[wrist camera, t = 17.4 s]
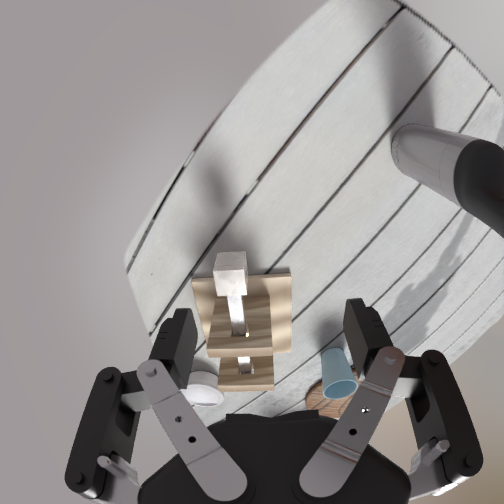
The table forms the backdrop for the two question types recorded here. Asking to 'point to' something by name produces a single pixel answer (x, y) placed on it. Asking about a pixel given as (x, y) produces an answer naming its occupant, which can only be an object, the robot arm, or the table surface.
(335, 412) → the trivet
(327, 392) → the cup
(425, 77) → the table surface
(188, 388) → the ramekin
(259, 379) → the bracket
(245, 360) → the shaft
